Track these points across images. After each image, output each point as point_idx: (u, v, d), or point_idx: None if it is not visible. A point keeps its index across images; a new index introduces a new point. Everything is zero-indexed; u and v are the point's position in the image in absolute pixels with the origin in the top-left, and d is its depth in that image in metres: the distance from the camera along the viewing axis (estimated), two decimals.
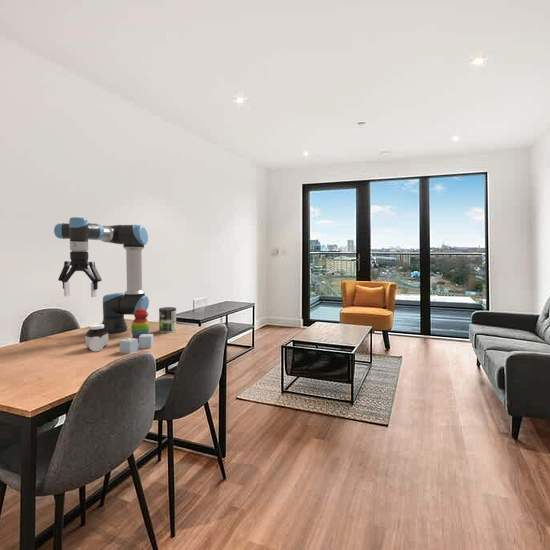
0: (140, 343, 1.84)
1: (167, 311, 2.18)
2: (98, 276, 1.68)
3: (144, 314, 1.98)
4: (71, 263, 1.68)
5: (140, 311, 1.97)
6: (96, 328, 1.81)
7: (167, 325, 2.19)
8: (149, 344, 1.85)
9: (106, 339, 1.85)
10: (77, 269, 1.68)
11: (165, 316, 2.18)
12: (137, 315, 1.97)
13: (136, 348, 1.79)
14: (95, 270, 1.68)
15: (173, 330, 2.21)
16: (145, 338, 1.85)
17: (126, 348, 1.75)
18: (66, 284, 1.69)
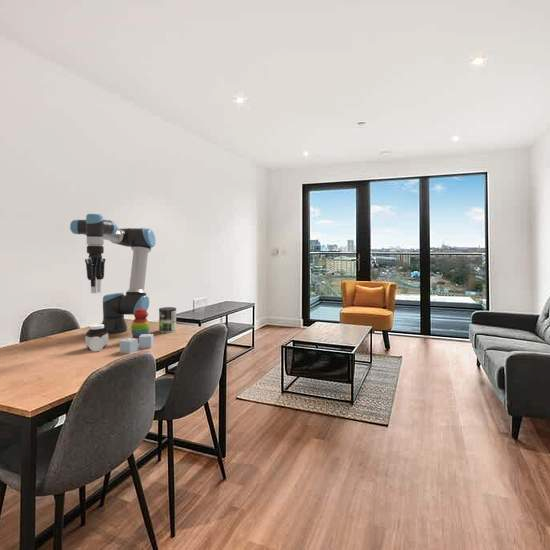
0: (140, 343, 1.84)
1: (167, 311, 2.18)
2: (89, 274, 1.75)
3: (144, 314, 1.98)
4: None
5: (140, 311, 1.97)
6: (96, 328, 1.81)
7: (167, 325, 2.19)
8: (149, 344, 1.85)
9: (106, 339, 1.85)
10: None
11: (165, 316, 2.18)
12: (137, 315, 1.97)
13: (136, 348, 1.79)
14: (88, 268, 1.74)
15: (173, 330, 2.21)
16: (145, 338, 1.85)
17: (126, 348, 1.75)
18: None
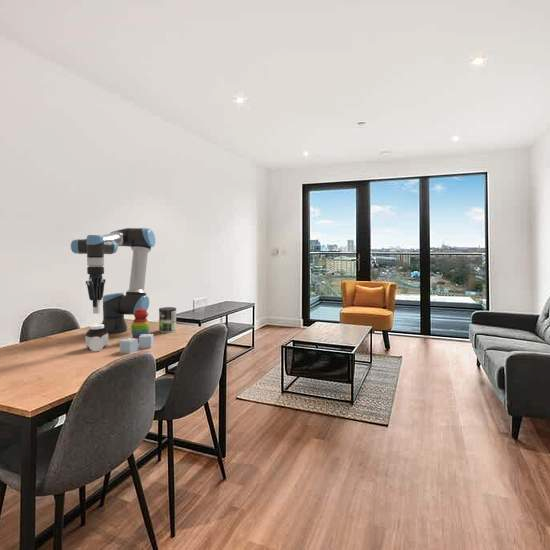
0: (140, 343, 1.84)
1: (167, 311, 2.18)
2: (91, 295, 1.77)
3: (144, 314, 1.98)
4: None
5: (140, 311, 1.97)
6: (96, 328, 1.81)
7: (167, 325, 2.19)
8: (149, 344, 1.85)
9: (106, 339, 1.85)
10: None
11: (165, 316, 2.18)
12: (137, 315, 1.97)
13: (136, 348, 1.79)
14: (89, 289, 1.76)
15: (173, 330, 2.21)
16: (145, 338, 1.85)
17: (126, 348, 1.75)
18: None
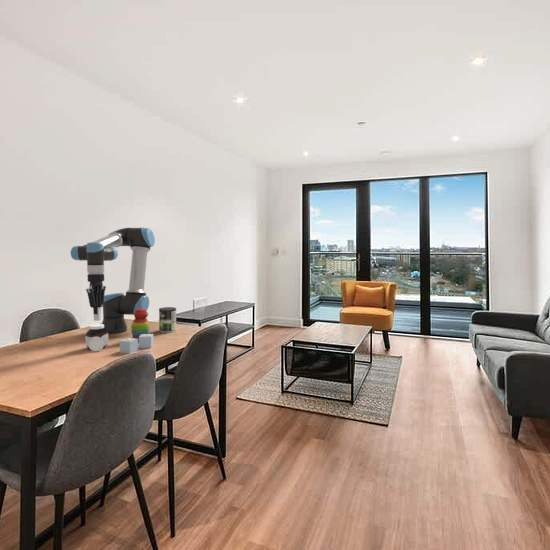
0: (140, 343, 1.84)
1: (167, 311, 2.18)
2: (91, 303, 1.77)
3: (144, 314, 1.98)
4: None
5: (140, 311, 1.97)
6: (96, 328, 1.81)
7: (167, 325, 2.19)
8: (149, 344, 1.85)
9: (106, 339, 1.85)
10: None
11: (165, 316, 2.18)
12: (137, 315, 1.97)
13: (136, 348, 1.79)
14: (90, 297, 1.76)
15: (173, 330, 2.21)
16: (145, 338, 1.85)
17: (126, 348, 1.75)
18: None
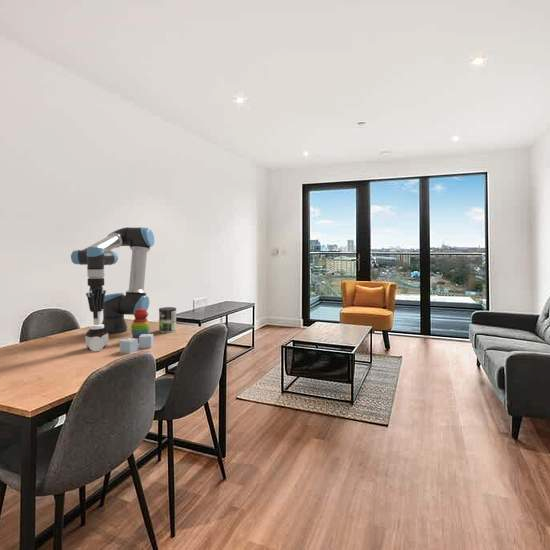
0: (140, 343, 1.84)
1: (167, 311, 2.18)
2: (91, 307, 1.77)
3: (144, 314, 1.98)
4: None
5: (140, 311, 1.97)
6: (96, 328, 1.81)
7: (167, 325, 2.19)
8: (149, 344, 1.85)
9: (106, 339, 1.85)
10: None
11: (165, 316, 2.18)
12: (137, 315, 1.97)
13: (136, 348, 1.79)
14: (90, 301, 1.76)
15: (173, 330, 2.21)
16: (145, 338, 1.85)
17: (126, 348, 1.75)
18: None
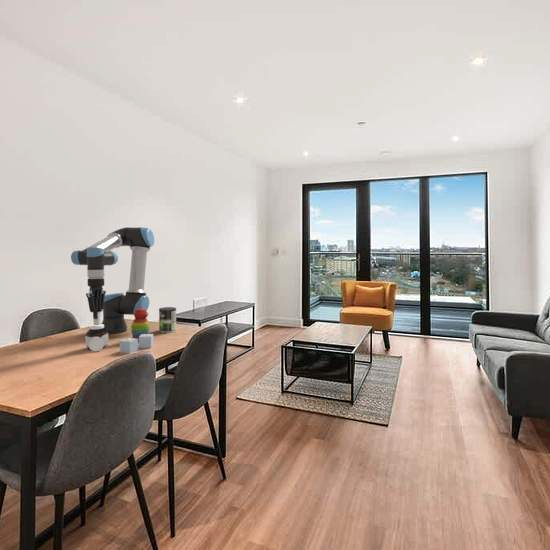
0: (140, 343, 1.84)
1: (167, 311, 2.18)
2: (91, 307, 1.77)
3: (144, 314, 1.98)
4: None
5: (140, 311, 1.97)
6: (96, 328, 1.81)
7: (167, 325, 2.19)
8: (149, 344, 1.85)
9: (106, 339, 1.85)
10: None
11: (165, 316, 2.18)
12: (137, 315, 1.97)
13: (136, 348, 1.79)
14: (90, 302, 1.76)
15: (173, 330, 2.21)
16: (145, 338, 1.85)
17: (126, 348, 1.75)
18: None
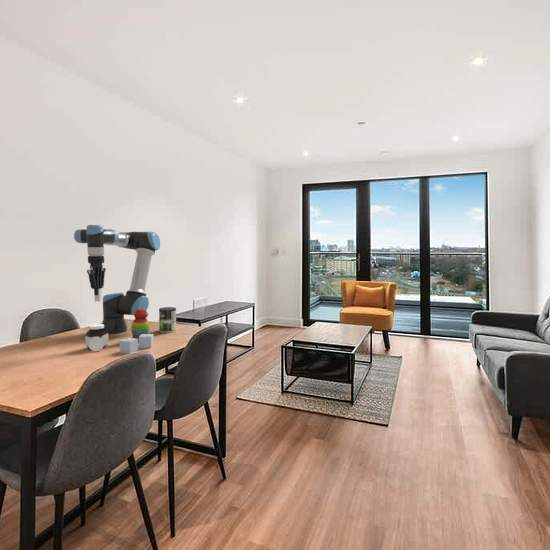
0: (140, 343, 1.84)
1: (167, 311, 2.18)
2: (92, 284, 1.82)
3: (144, 314, 1.98)
4: None
5: (140, 311, 1.97)
6: (96, 328, 1.81)
7: (167, 325, 2.19)
8: (149, 344, 1.85)
9: (106, 339, 1.85)
10: None
11: (165, 316, 2.18)
12: (137, 315, 1.97)
13: (136, 348, 1.79)
14: (91, 278, 1.81)
15: (173, 330, 2.21)
16: (145, 338, 1.85)
17: (126, 348, 1.75)
18: None
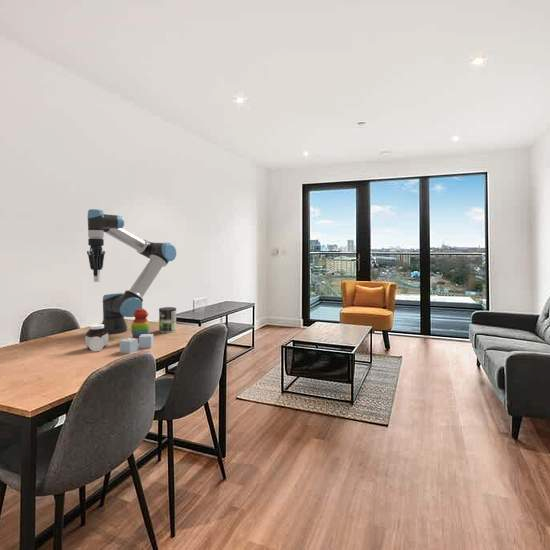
0: (140, 343, 1.84)
1: (167, 311, 2.18)
2: (91, 265, 1.93)
3: (144, 314, 1.98)
4: None
5: (140, 311, 1.97)
6: (96, 328, 1.81)
7: (167, 325, 2.19)
8: (149, 344, 1.85)
9: (106, 339, 1.85)
10: None
11: (165, 316, 2.18)
12: (137, 315, 1.97)
13: (136, 348, 1.79)
14: (90, 259, 1.92)
15: (173, 330, 2.21)
16: (145, 338, 1.85)
17: (126, 348, 1.75)
18: None
